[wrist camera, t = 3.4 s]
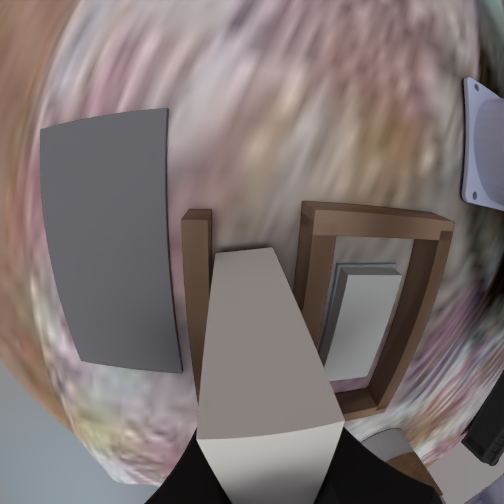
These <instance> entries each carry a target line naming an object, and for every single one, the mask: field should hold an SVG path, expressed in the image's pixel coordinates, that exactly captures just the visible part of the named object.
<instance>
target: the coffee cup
mask: <svg viewBox="0 0 504 504" xmlns="http://www.w3.org/2000/svg"><path fill="white" fill-rule="evenodd" d="M361 444H362V445H363V446H365V447H366V448H367V449H368V450H369V451H371V452H372V453H373V454H375V455H376V456H377V457H379V458H380V459H381V460H383V461H384V462H386V463H388V464H389V465H391V466H392V467H394V468H395V469H397V470H399V471H400V472H402V473H404V474H406V475H408V476H410V477H412V478H414V479H416V480H418V481H420V482H423V483H425V484H428V485H430V486H432V487H434V489H435V490H436V491H437V493H438V494H439V496H440V498H441V500H442V502H443V504H446V502H445V501H444V499H443V497H442V495H443V494H442V492H441V490H440V489H439V487H438V486H437V484H436V483H435V481H434V480H433V478H432V477H431V475H430V474H429V472H428V471H427V469H426V468H425V466H424V465H423V463H422V462H421V460H420V459H419V457H418V456H417V454H416V453H415V452H414V450H413V449H412V447H411V446H410V444H409V442H408V441H407V439H406V438H405V436H404V435H403V433H402V432H401V430H400V429H389V430H386V431H383V432H380V433H378V434H376V435H374V436H372V437H370V438H368V439H366V440H365V441H363V442H362V443H361Z"/></svg>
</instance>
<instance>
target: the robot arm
mask: <svg viewBox="0 0 504 504" xmlns="http://www.w3.org/2000/svg"><path fill="white" fill-rule="evenodd" d="M464 92H465V109H466V148H465V166H464V178H463V187H462V198H463V200H464V201H465V202H468V203H472V204H477V205H481V206H486V207H490V208H494V209H498V210H502V211H504V98H500V97H499V96H497V95H496V94H495V93H493V92H492V91H490V90H489V89H488V88H486V87H485V86H483V85H482V84H480V83H479V82H477V81H475V80H474V79H472V78H470V77H467V78H464ZM472 195H473V196H472ZM196 434H197V428H196V430H195V432H194V434H193V436H192V438H191V440H190V442H189V444H188V446H187V448H186V450H185V451H184V453H183V455H182V457H181V458H180V460H179V461H178V463H177V465H176V466H175V467H174V469H173V470H172V472H171V473H170V475H169V476H168V477H167V479H166V480H165V481H164V482H163V484H162V485H161V486H160V487H159V489H158V490H157V491H156V492H155V493H154V494H153V495H152V496H151V497H150V498H149V499H148V500H147V502H146V503H145V504H232V502H231V501H230V499H229V498H228V496H227V494H226V493H225V491H224V489H223V488H222V486H221V484H220V483H219V481H218V479H217V478H216V476H215V474H214V472H213V471H212V469H211V467H210V465H209V463H208V461H207V460H206V458H205V456H204V454H203V452H202V450H201V448H200V446H199V444H198V442H197V440H196ZM314 504H443V502H442V500H441V498H440V496H439V494H438V493H437V491H436V490H435V489H434V487H432V486H430V485H428V484H425V483H423V482H420V481H418V480H416V479H414V478H412V477H410V476H408V475H406V474H404V473H402V472H400V471H399V470H397V469H395V468H394V467H392V466H391V465H389V464H388V463H386V462H384V461H383V460H381V459H380V458H379V457H377V456H376V455H375V454H373V453H372V452H371V451H369V450H368V449H367V448H366V447H365V446H363V445H362V444H361V443H360V442H359V441H358V440H357V439H356V438H355V437H353V436H352V435H351V434H350V433H349V432H348V431H347V429H346V428H345V427H344V426H343V428H342V432H341V435H340V438H339V441H338V443H337V446H336V449H335V452H334V455H333V457H332V460H331V463H330V465H329V468H328V470H327V473H326V475H325V478H324V480H323V483H322V485H321V487H320V490H319V492H318V494H317V496H316V499H315V501H314ZM464 504H504V474H503V475H501V476H500V477H499V478H498V479H497V480H496V481H494V482H493V483H492V484H491V485H489V486H488V487H486V488H485V489H483V490H482V491H481V492H479V493H478V494H477V495H475V496H474V497H472V498H471V499H470V500H468V501H467V502H465V503H464Z"/></svg>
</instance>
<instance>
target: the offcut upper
mask: <svg viewBox="0 0 504 504" xmlns="http://www.w3.org/2000/svg"><path fill="white" fill-rule="evenodd" d="M401 277H402V275H401V274H400V273H398V272H397V271H396V270H395V269H393V268H377V267H341V268H340V273H339V278H338V283H337V288H336V293H335V297H334V302H333V306H332V310H331V315H330V319H329V323H328V327H327V331H326V335H325V339H324V343H323V347H322V350H321V354H320V360H321V362H322V365H323V367H324V369H325V372H326V374H327V377H328V379H329V381H336V380H344V379H352V378H359V377H366V376H367V374H368V372H369V370H370V367H371V365H372V362H373V360H374V358H375V355H376V353H377V350H378V347H379V345H380V342H381V340H382V337H383V334H384V331H385V328H386V326H387V323H388V320H389V317H390V314H391V311H392V308H393V304H394V301H395V298H396V295H397V291H398V288H399V284H400V281H401Z"/></svg>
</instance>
